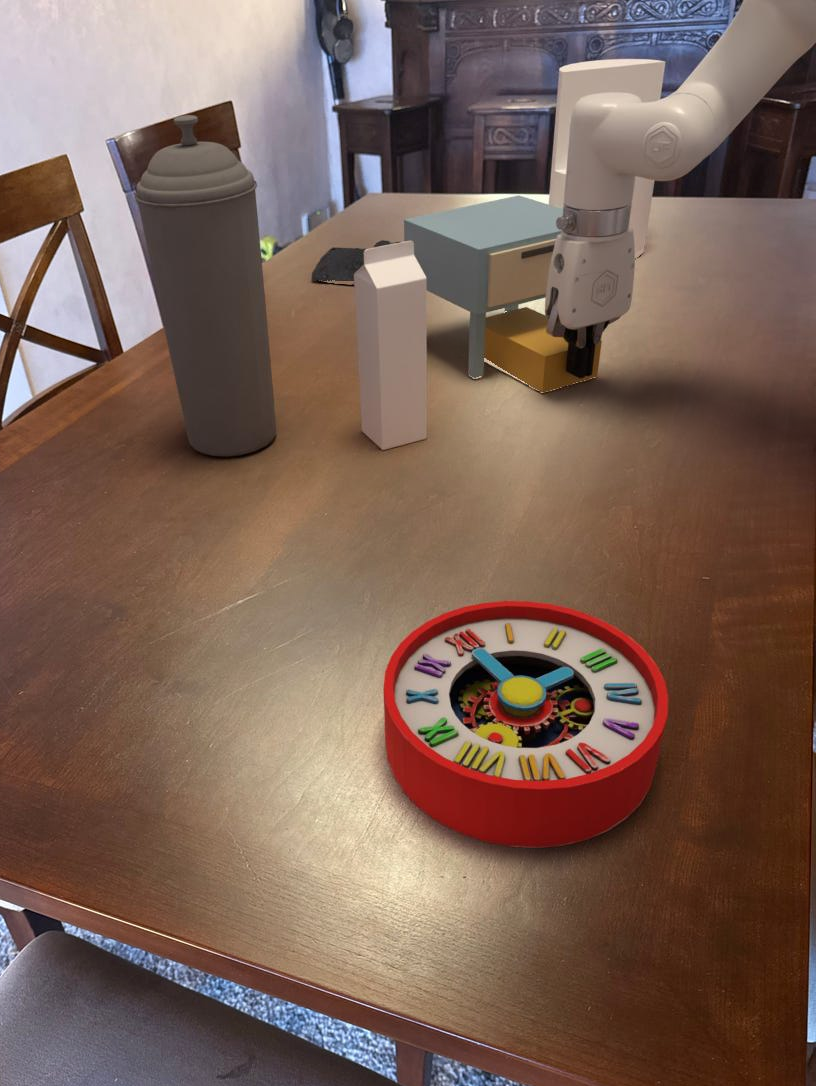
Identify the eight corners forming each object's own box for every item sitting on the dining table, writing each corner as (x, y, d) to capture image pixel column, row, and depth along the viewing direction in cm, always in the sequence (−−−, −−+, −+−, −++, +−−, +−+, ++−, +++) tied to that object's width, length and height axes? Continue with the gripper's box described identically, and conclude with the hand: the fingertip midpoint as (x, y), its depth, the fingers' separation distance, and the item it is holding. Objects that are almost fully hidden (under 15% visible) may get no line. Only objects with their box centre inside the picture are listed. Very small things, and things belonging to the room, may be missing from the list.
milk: (427, 439, 107) (428, 246, 93) (381, 451, 106) (376, 257, 92) (403, 420, 112) (402, 233, 98) (360, 431, 110) (351, 242, 96)
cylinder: (530, 243, 166) (543, 65, 148) (619, 232, 168) (641, 55, 150) (566, 270, 153) (584, 79, 135) (661, 258, 154) (691, 67, 137)
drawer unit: (591, 352, 125) (606, 222, 114) (477, 384, 119) (482, 250, 108) (511, 314, 138) (518, 195, 127) (405, 342, 132) (403, 219, 121)
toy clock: (490, 836, 54) (334, 656, 68) (486, 894, 57) (339, 712, 71) (733, 714, 60) (545, 573, 74) (716, 773, 64) (539, 628, 78)
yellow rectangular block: (597, 377, 118) (602, 340, 115) (542, 394, 115) (545, 356, 112) (523, 341, 129) (526, 306, 126) (471, 355, 126) (472, 320, 123)
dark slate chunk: (335, 257, 167) (333, 230, 164) (449, 262, 160) (450, 234, 157) (304, 283, 156) (302, 255, 153) (425, 290, 149) (425, 260, 146)
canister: (211, 474, 104) (153, 134, 82) (165, 436, 112) (101, 119, 90) (303, 441, 109) (272, 112, 87) (253, 407, 117) (212, 100, 95)
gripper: (564, 239, 97) (549, 398, 109) (669, 214, 102) (644, 369, 114) (522, 225, 103) (512, 378, 114) (623, 202, 107) (605, 351, 119)
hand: (578, 373), depth 114 cm, fingers closed
